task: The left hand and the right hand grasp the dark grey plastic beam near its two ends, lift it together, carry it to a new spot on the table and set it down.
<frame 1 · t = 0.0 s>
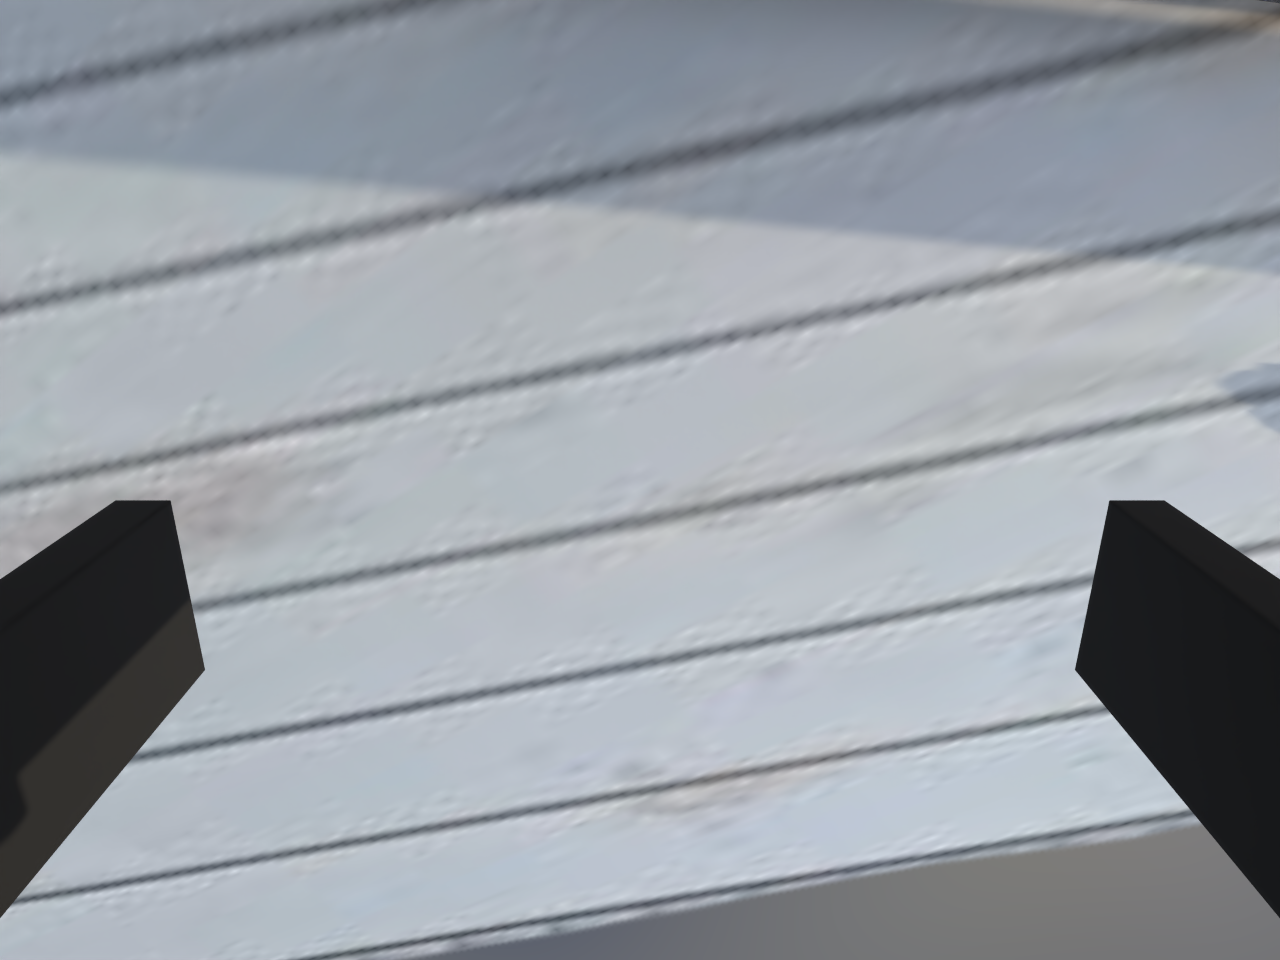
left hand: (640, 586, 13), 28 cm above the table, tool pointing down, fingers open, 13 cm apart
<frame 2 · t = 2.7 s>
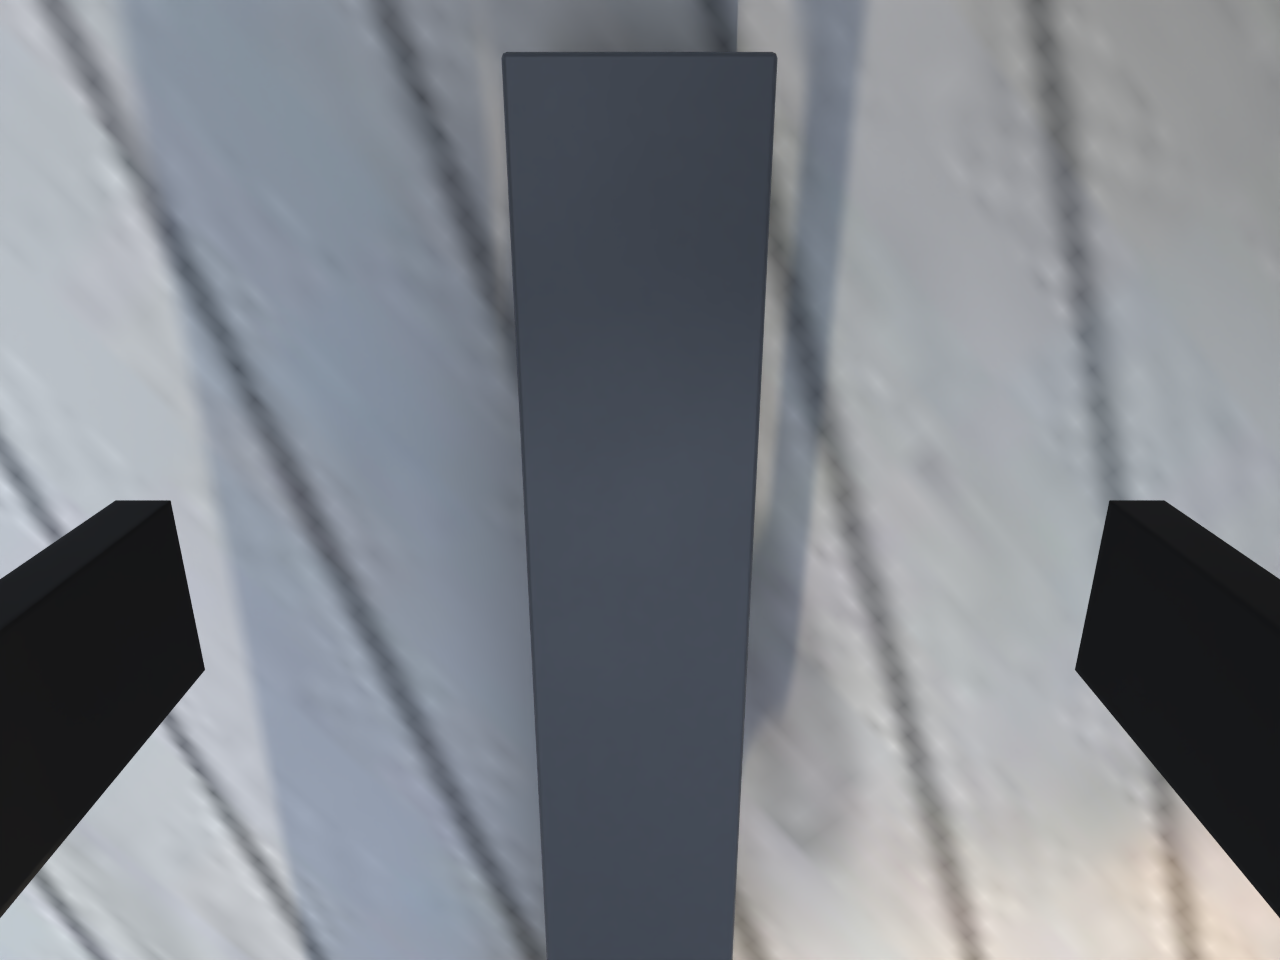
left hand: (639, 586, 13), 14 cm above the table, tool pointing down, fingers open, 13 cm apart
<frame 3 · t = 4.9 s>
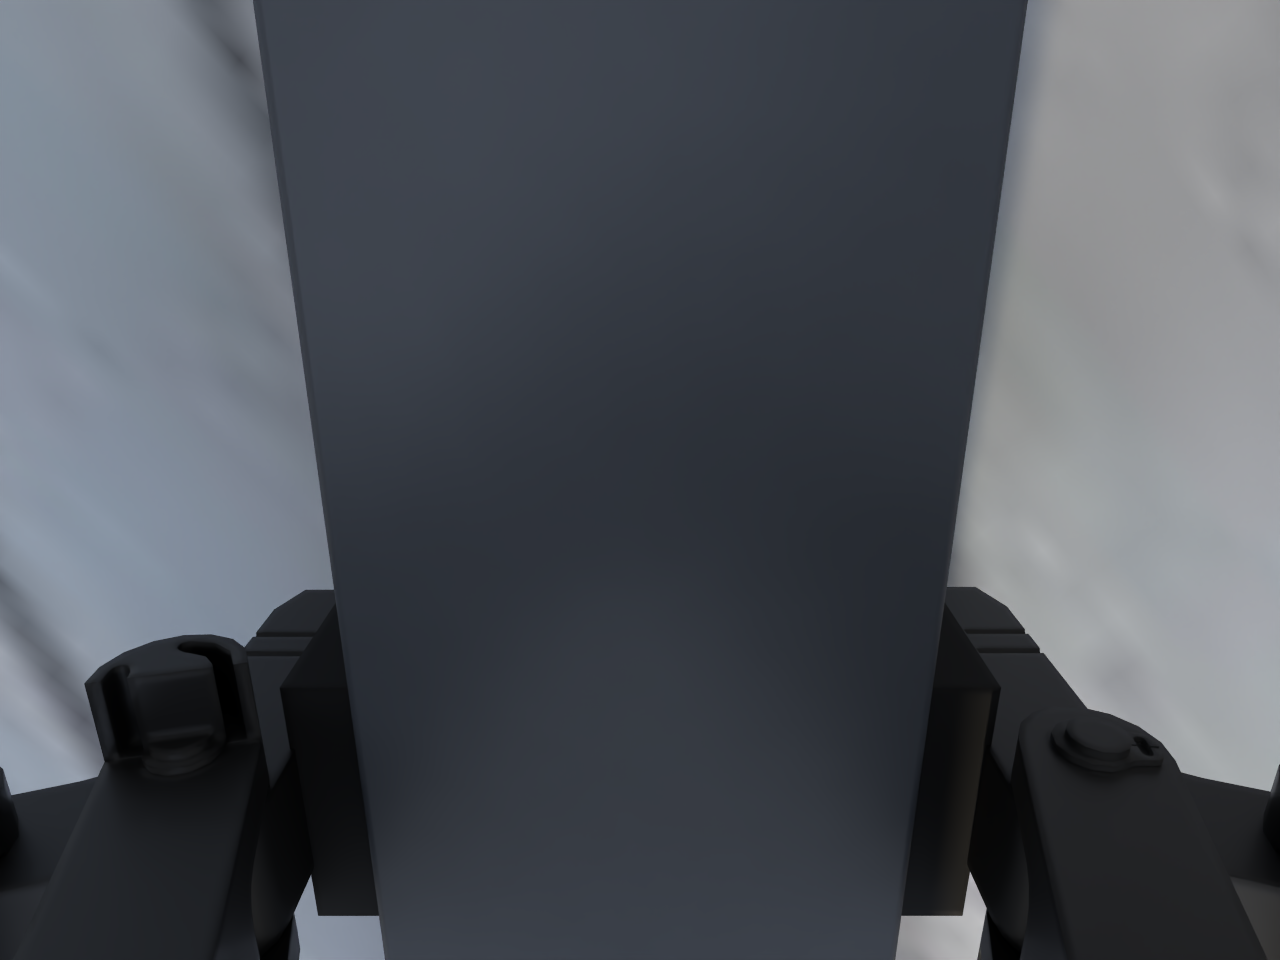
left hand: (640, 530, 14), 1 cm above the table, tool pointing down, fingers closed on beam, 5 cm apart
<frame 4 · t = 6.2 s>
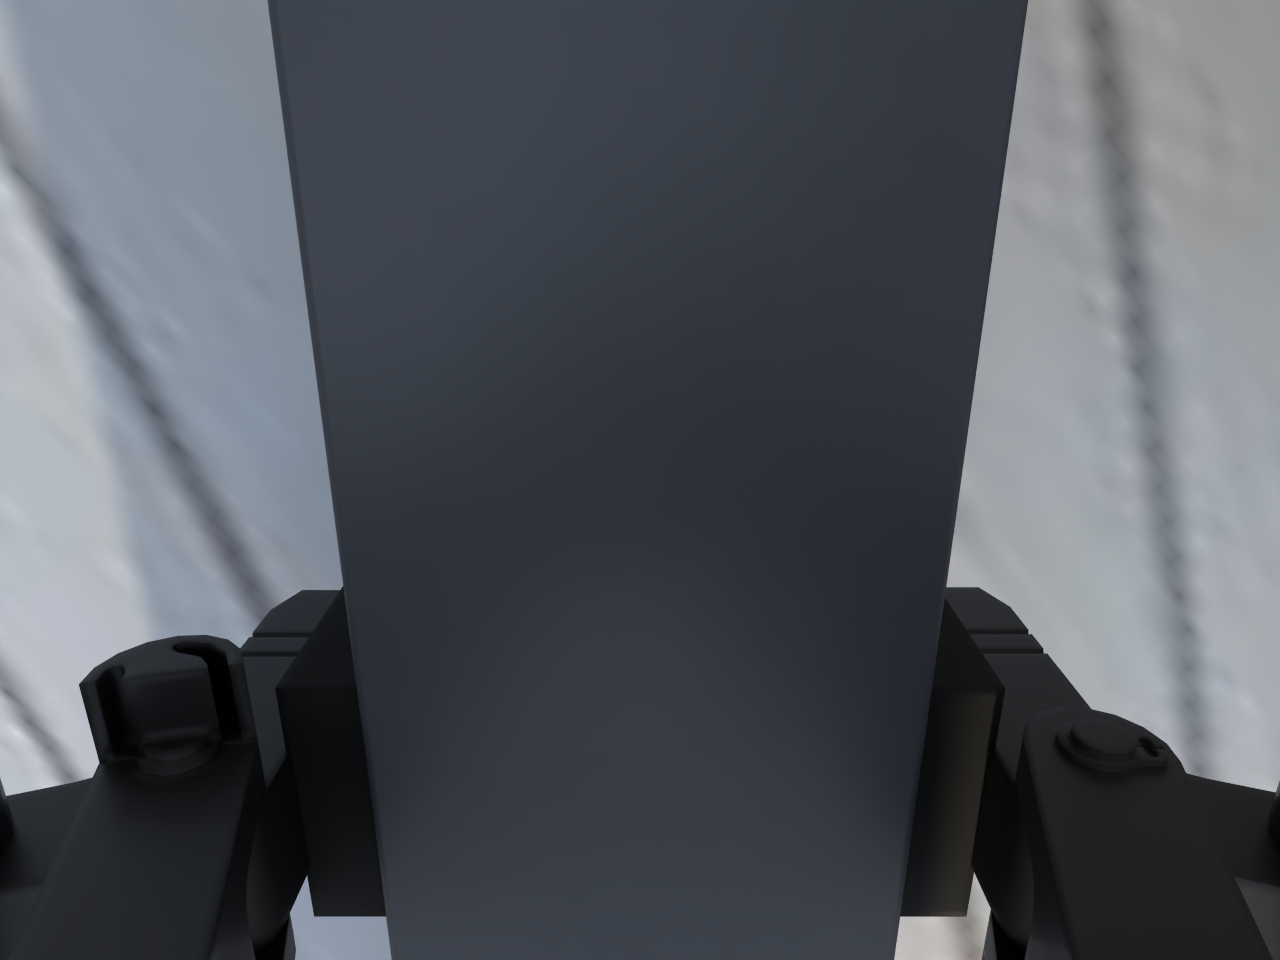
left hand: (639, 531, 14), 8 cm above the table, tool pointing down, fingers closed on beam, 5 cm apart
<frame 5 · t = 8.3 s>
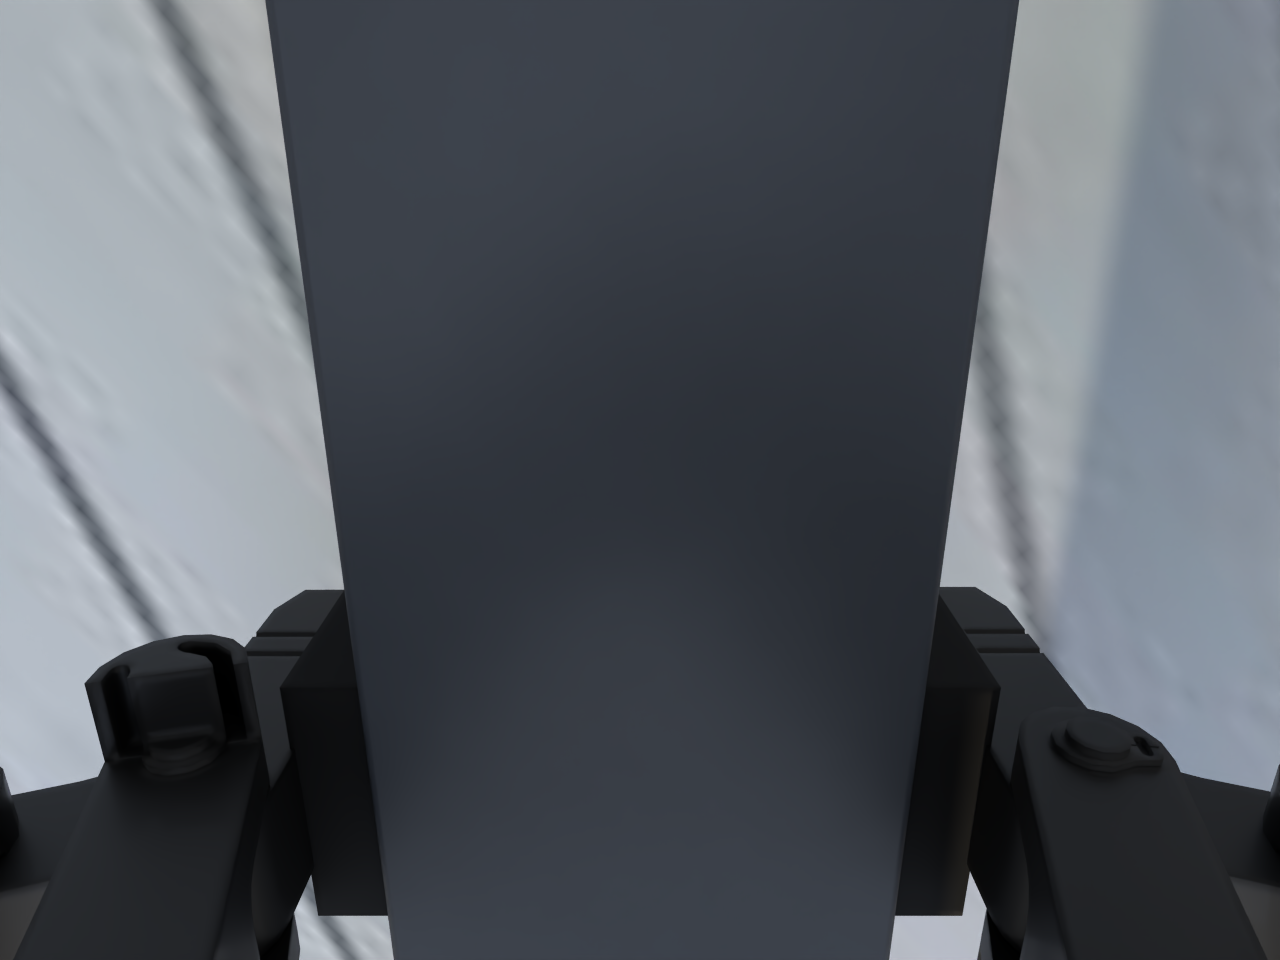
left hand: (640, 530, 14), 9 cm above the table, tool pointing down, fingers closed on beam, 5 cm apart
when the left hand's fingers open (2 cm above the table, at t = 9.7 s): beam stays where it is, on the table.
when the right hand's fingers open (3 cm above the table, at t = 9.9 s): beam stays where it is, on the table.
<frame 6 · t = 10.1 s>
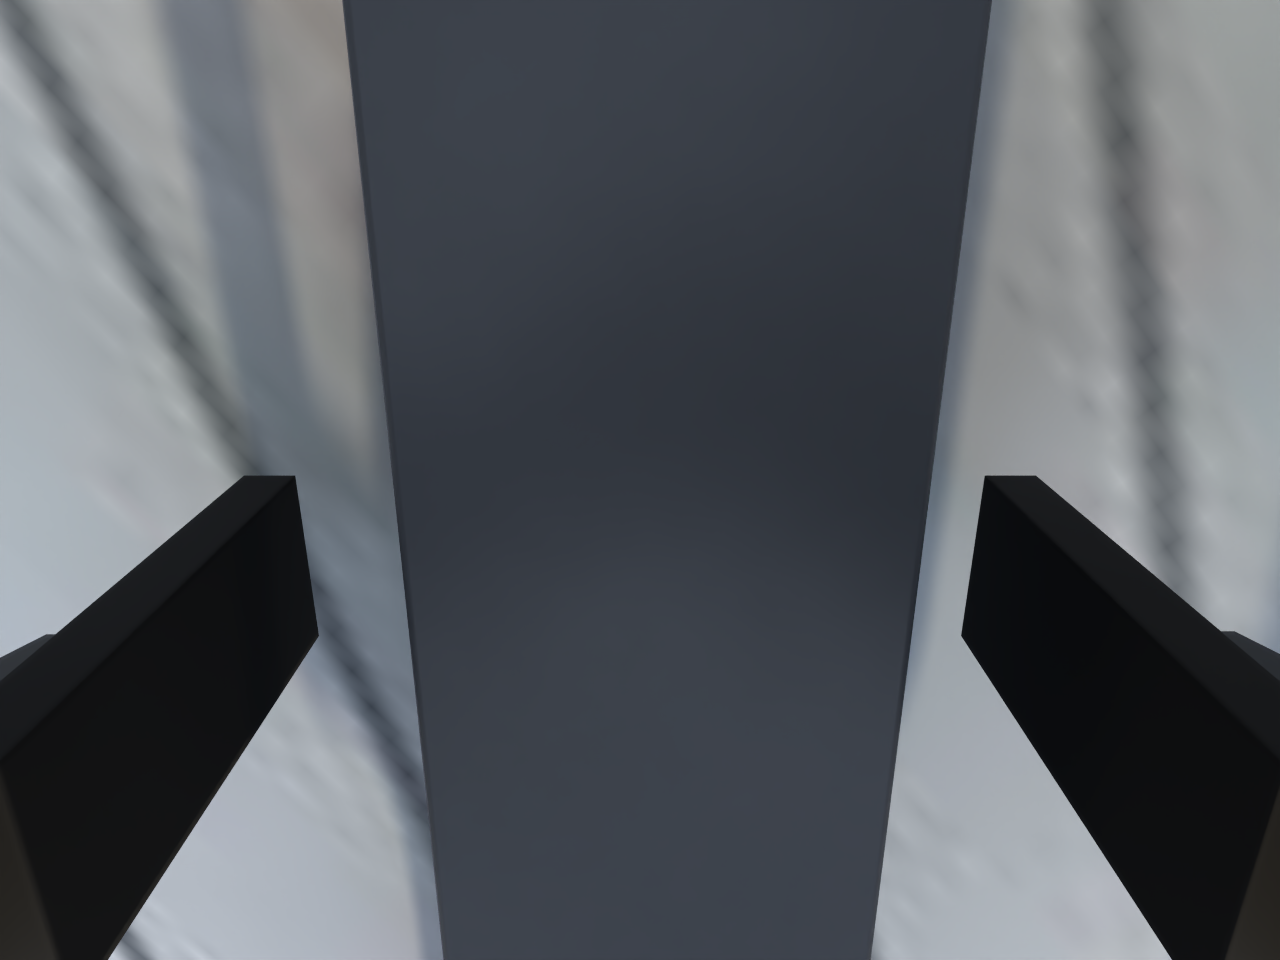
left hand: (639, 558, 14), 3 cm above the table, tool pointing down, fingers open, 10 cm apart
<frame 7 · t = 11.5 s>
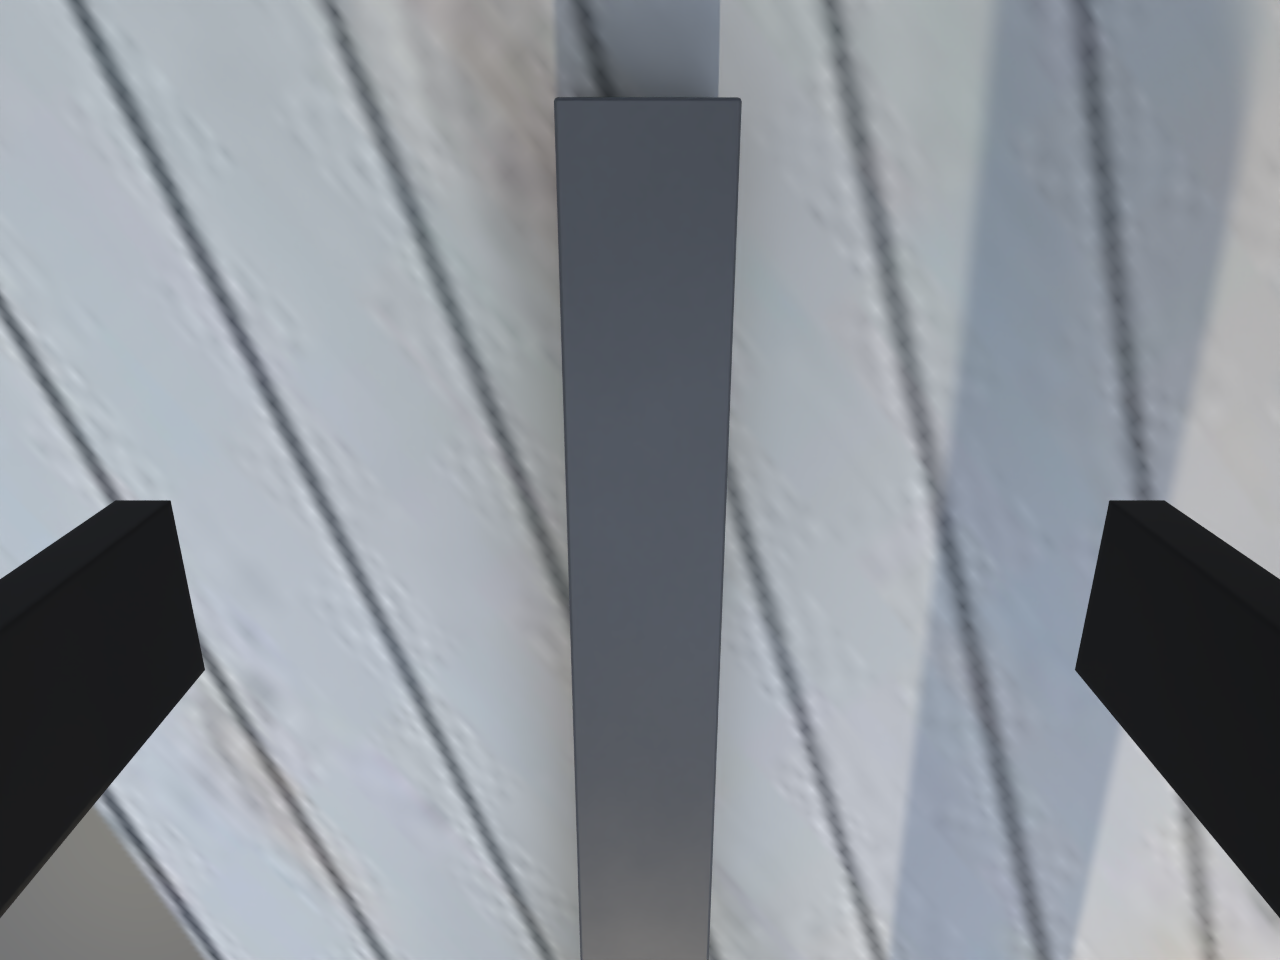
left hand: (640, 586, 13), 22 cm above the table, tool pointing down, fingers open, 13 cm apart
beam: (643, 829, 42), on the table
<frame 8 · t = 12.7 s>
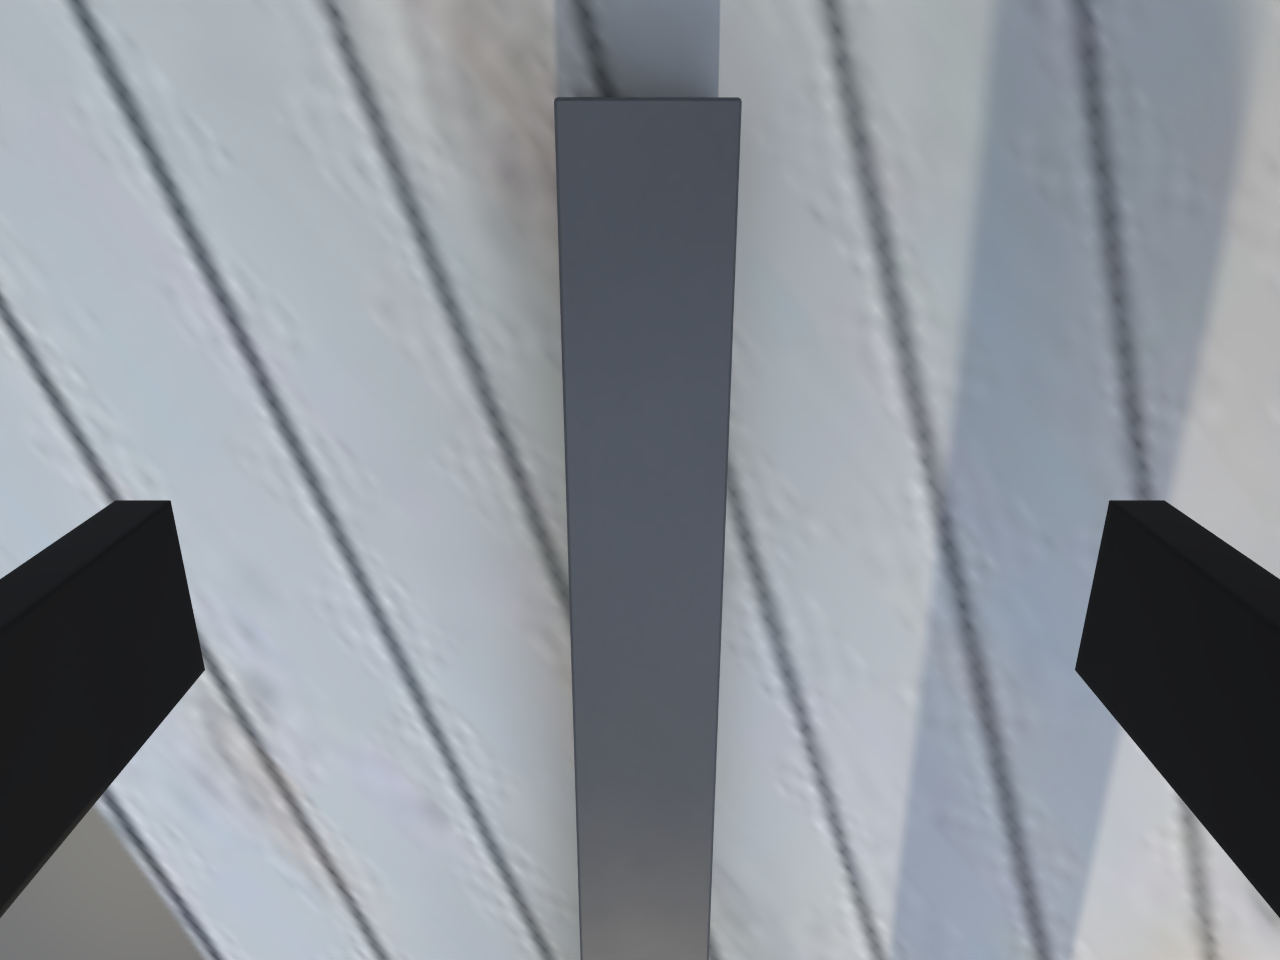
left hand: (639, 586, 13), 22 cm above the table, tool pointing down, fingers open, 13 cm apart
beam: (643, 829, 42), on the table
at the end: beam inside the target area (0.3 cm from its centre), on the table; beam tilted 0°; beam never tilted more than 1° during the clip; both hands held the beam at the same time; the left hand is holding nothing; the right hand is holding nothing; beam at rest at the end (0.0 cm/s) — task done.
